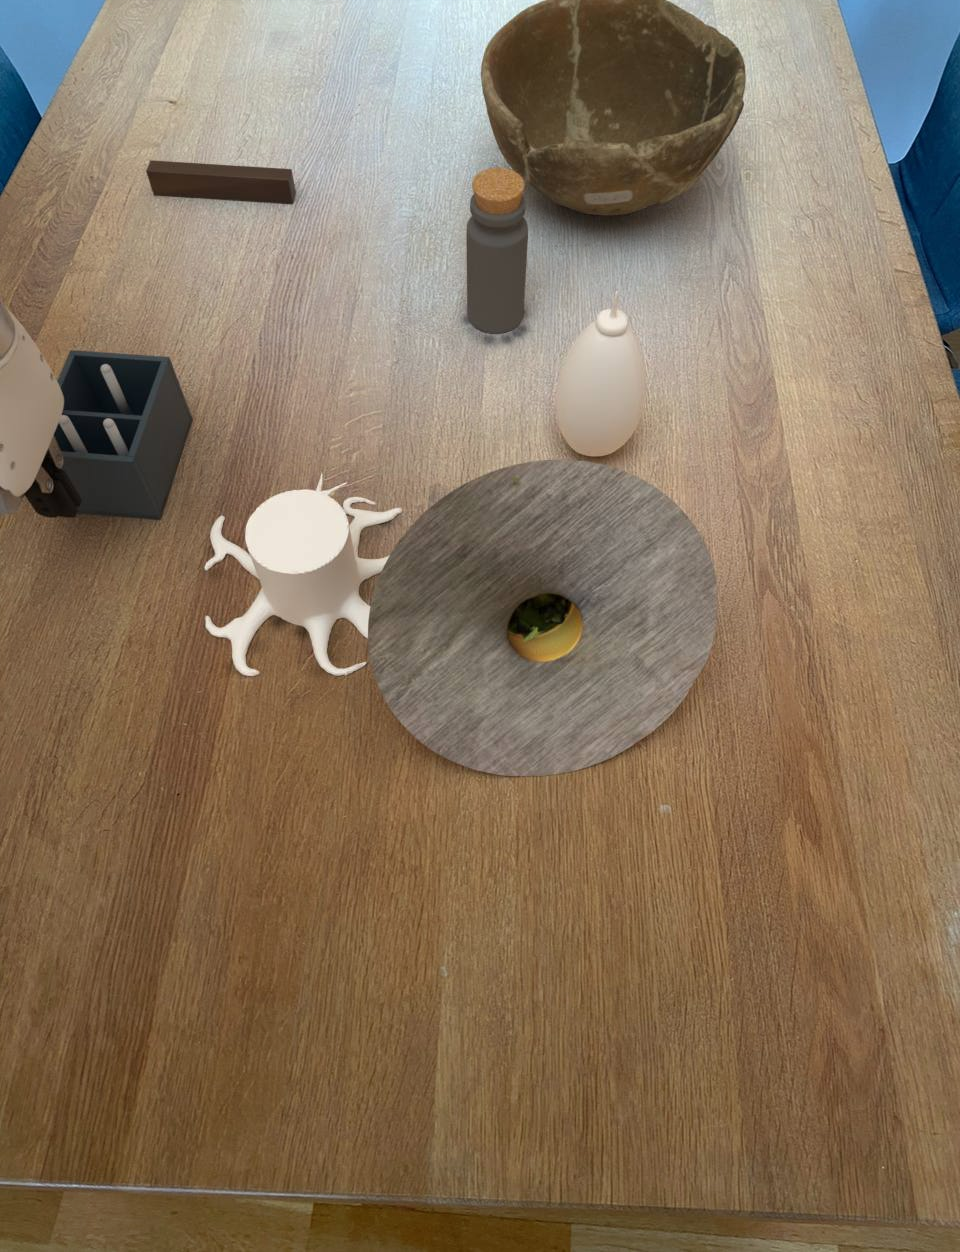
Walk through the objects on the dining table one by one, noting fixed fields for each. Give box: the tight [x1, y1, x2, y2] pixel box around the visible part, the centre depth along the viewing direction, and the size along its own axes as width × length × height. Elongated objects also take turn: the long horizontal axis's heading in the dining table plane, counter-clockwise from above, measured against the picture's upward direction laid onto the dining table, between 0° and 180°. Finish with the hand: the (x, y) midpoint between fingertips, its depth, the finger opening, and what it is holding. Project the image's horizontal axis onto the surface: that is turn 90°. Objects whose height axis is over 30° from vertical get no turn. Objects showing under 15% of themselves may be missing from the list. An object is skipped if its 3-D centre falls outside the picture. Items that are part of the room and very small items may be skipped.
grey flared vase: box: [367, 459, 719, 777], centre depth 72 cm, size 25×18×25 cm
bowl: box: [480, 0, 747, 216], centre depth 101 cm, size 28×27×15 cm
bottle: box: [466, 167, 529, 335], centre depth 91 cm, size 6×6×15 cm
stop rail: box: [145, 159, 297, 205], centre depth 106 cm, size 2×16×3 cm, turn 85°
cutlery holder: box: [55, 349, 193, 521], centre depth 83 cm, size 12×9×10 cm
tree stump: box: [204, 472, 403, 677], centre depth 77 cm, size 20×19×8 cm
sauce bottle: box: [554, 290, 647, 457], centre depth 81 cm, size 8×8×18 cm
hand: (60, 508), depth 75 cm, fingers closed
